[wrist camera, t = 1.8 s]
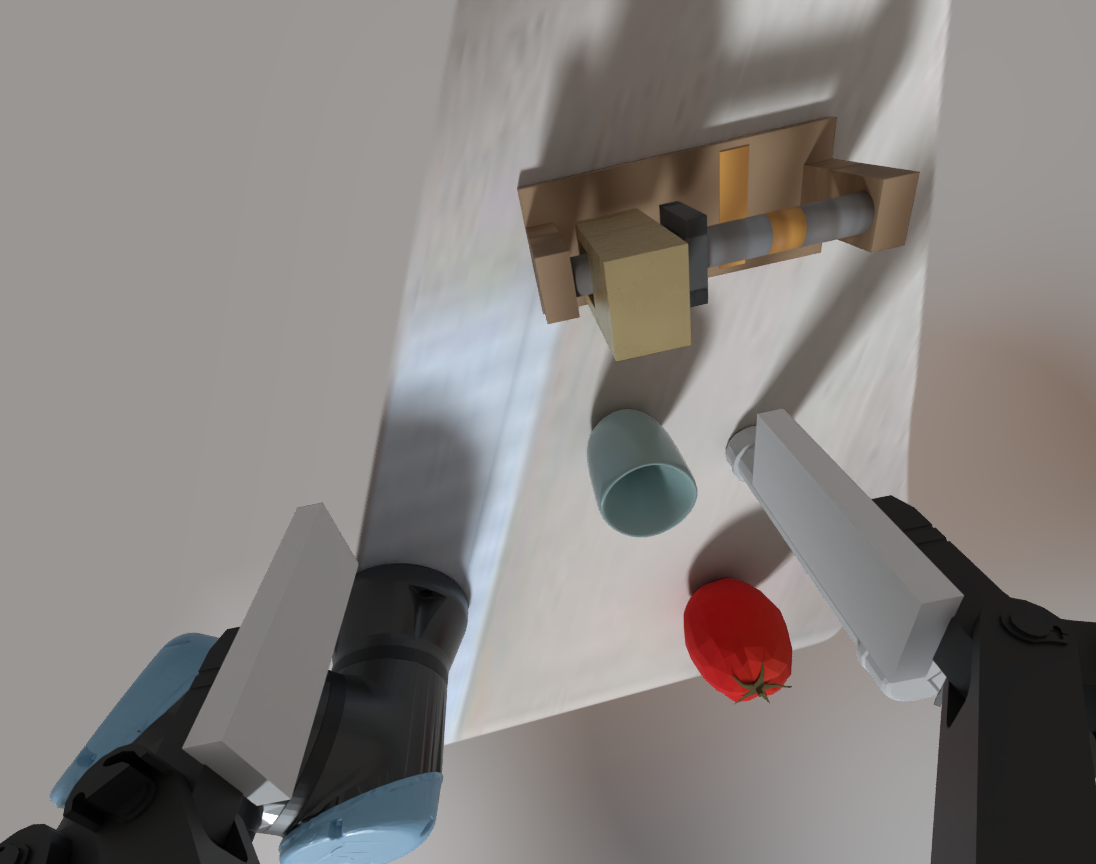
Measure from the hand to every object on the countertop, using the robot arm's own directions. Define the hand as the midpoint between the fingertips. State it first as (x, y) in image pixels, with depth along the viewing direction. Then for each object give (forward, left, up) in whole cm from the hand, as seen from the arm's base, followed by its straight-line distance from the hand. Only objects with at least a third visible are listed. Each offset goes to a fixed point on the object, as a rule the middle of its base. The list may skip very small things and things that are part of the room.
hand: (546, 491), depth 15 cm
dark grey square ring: (+10, 0, -21) cm, 24 cm away
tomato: (+15, -45, -27) cm, 54 cm away
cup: (+6, -18, -27) cm, 33 cm away
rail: (+12, 0, -27) cm, 30 cm away
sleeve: (+6, 0, -21) cm, 22 cm away
